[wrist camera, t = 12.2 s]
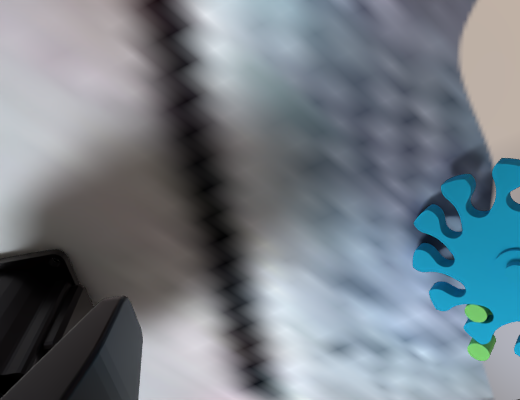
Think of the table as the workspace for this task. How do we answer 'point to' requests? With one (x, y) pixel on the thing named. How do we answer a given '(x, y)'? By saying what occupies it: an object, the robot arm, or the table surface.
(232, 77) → the table surface
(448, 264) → the blue virus toy
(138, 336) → the robot arm
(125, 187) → the table surface
